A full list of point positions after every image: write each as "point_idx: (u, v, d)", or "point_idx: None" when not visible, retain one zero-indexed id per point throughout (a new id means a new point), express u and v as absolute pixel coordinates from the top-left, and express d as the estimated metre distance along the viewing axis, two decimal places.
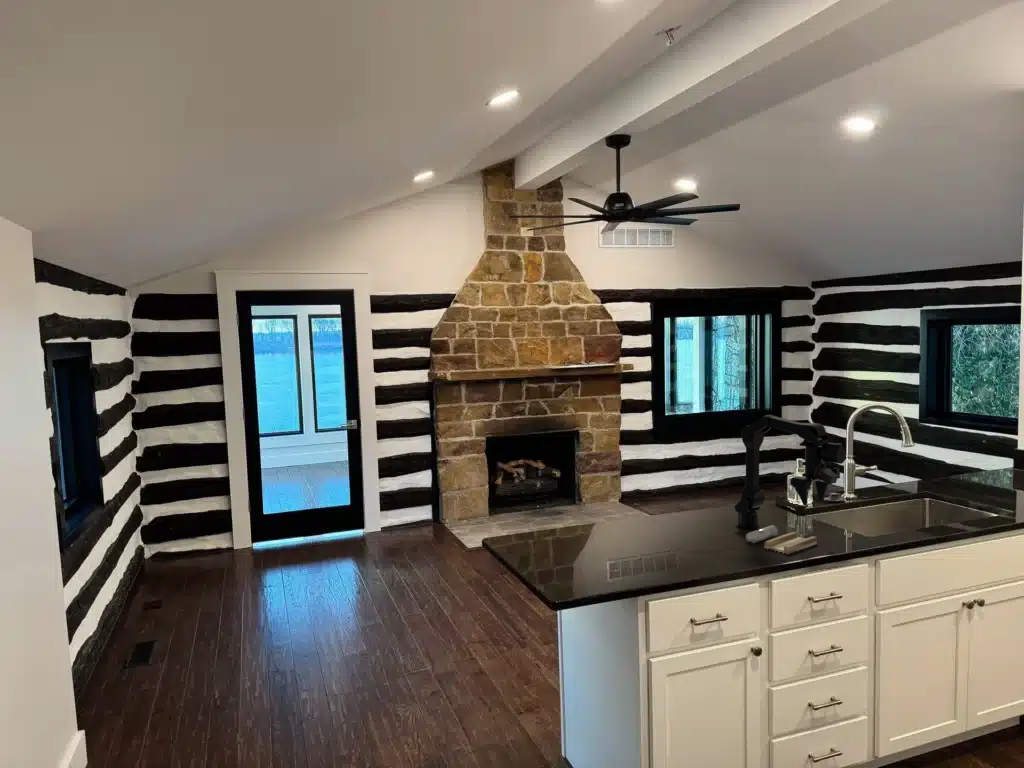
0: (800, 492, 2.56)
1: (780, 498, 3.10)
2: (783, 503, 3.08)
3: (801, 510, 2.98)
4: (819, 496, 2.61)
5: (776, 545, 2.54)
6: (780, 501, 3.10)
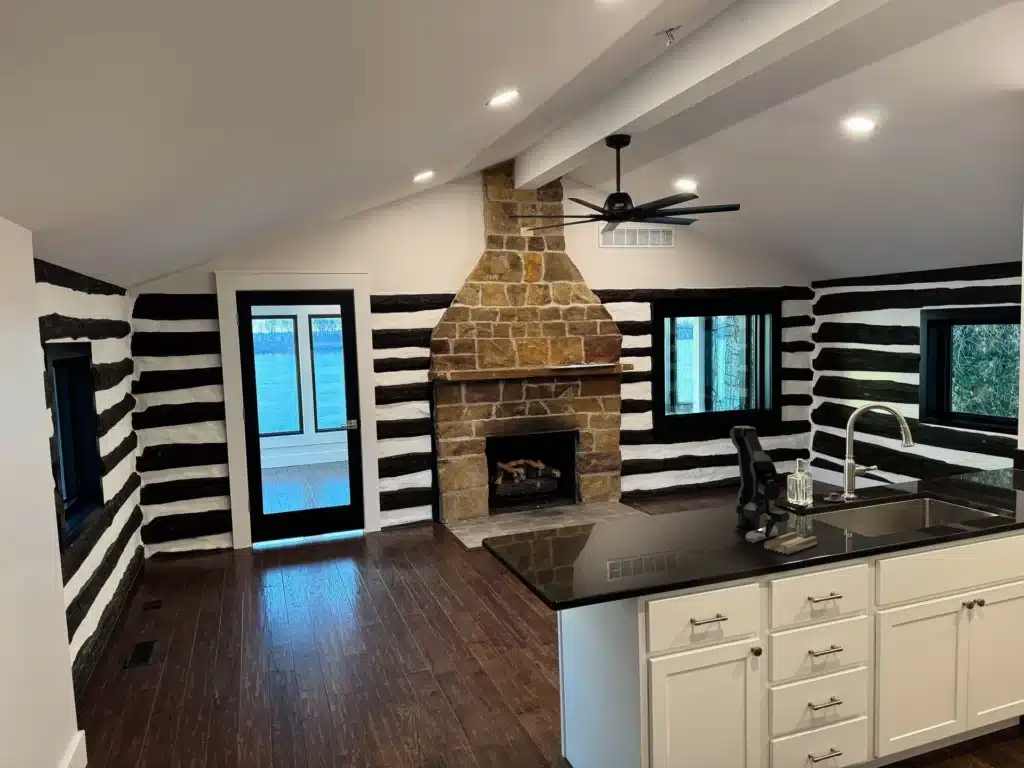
0: None
1: (780, 498, 3.10)
2: (782, 503, 3.08)
3: (801, 510, 2.98)
4: None
5: (776, 545, 2.54)
6: (779, 501, 3.10)
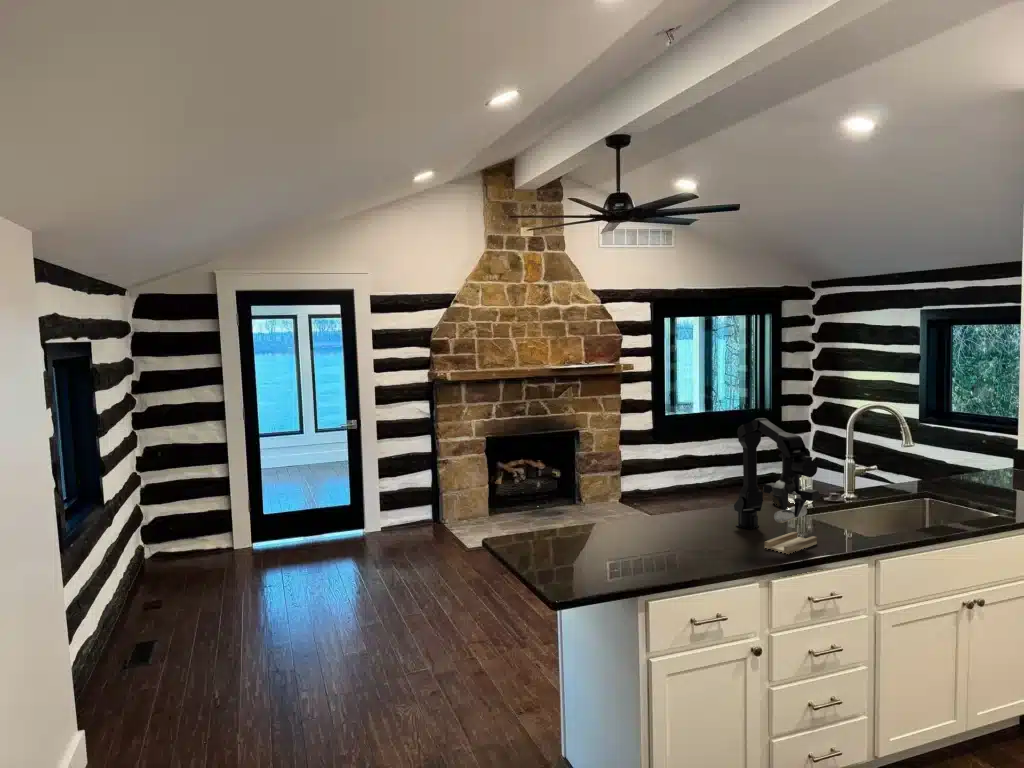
0: None
1: None
2: None
3: None
4: None
5: (776, 545, 2.54)
6: (778, 501, 3.10)
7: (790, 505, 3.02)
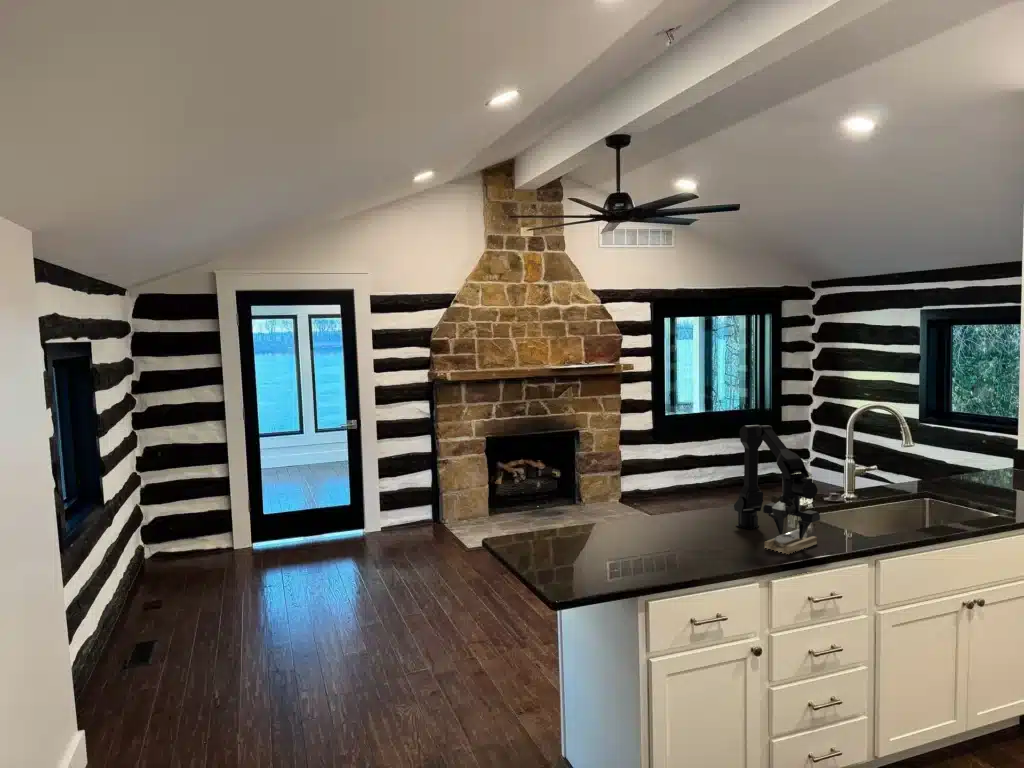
0: None
1: (778, 498, 3.10)
2: None
3: (802, 510, 2.98)
4: None
5: None
6: (778, 501, 3.10)
7: None
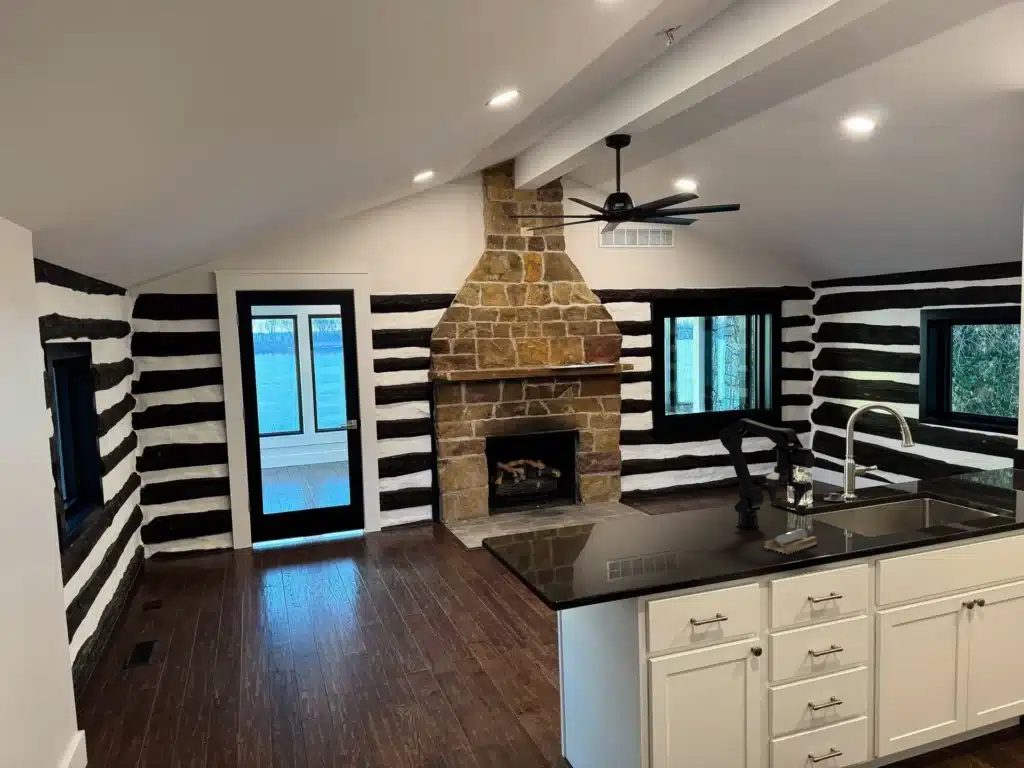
0: None
1: (778, 498, 3.09)
2: (781, 503, 3.07)
3: (802, 510, 2.98)
4: None
5: None
6: (777, 501, 3.09)
7: (790, 505, 3.02)
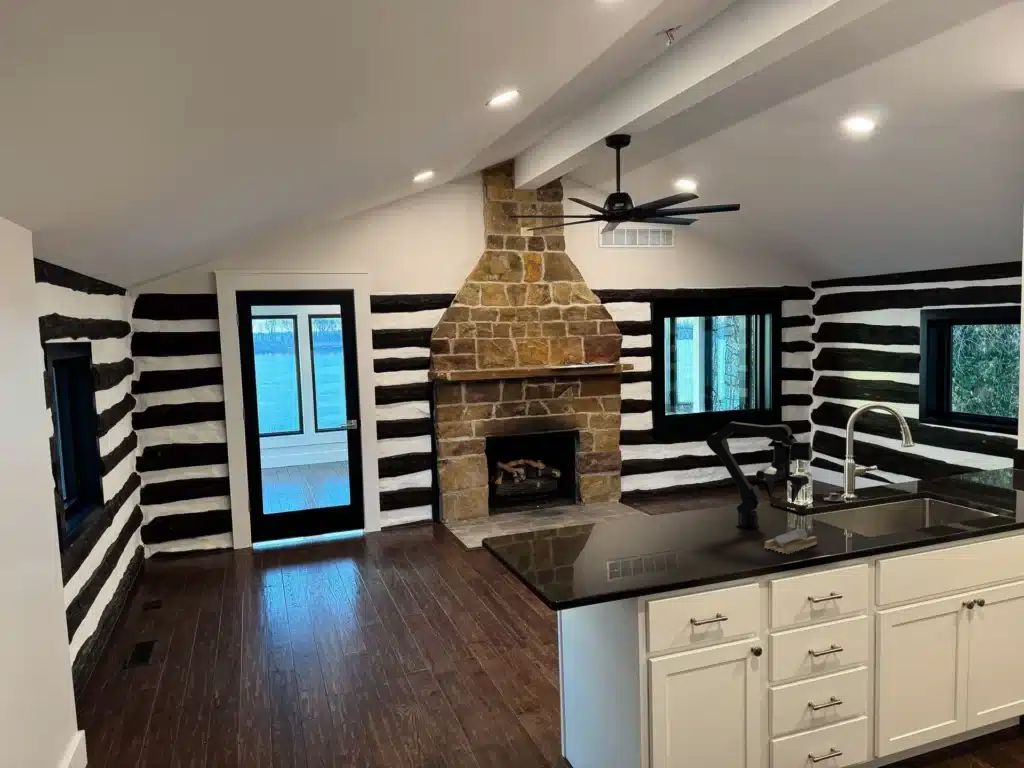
0: None
1: (777, 498, 3.09)
2: (781, 504, 3.07)
3: (802, 510, 2.98)
4: None
5: None
6: (777, 502, 3.09)
7: (790, 505, 3.02)
